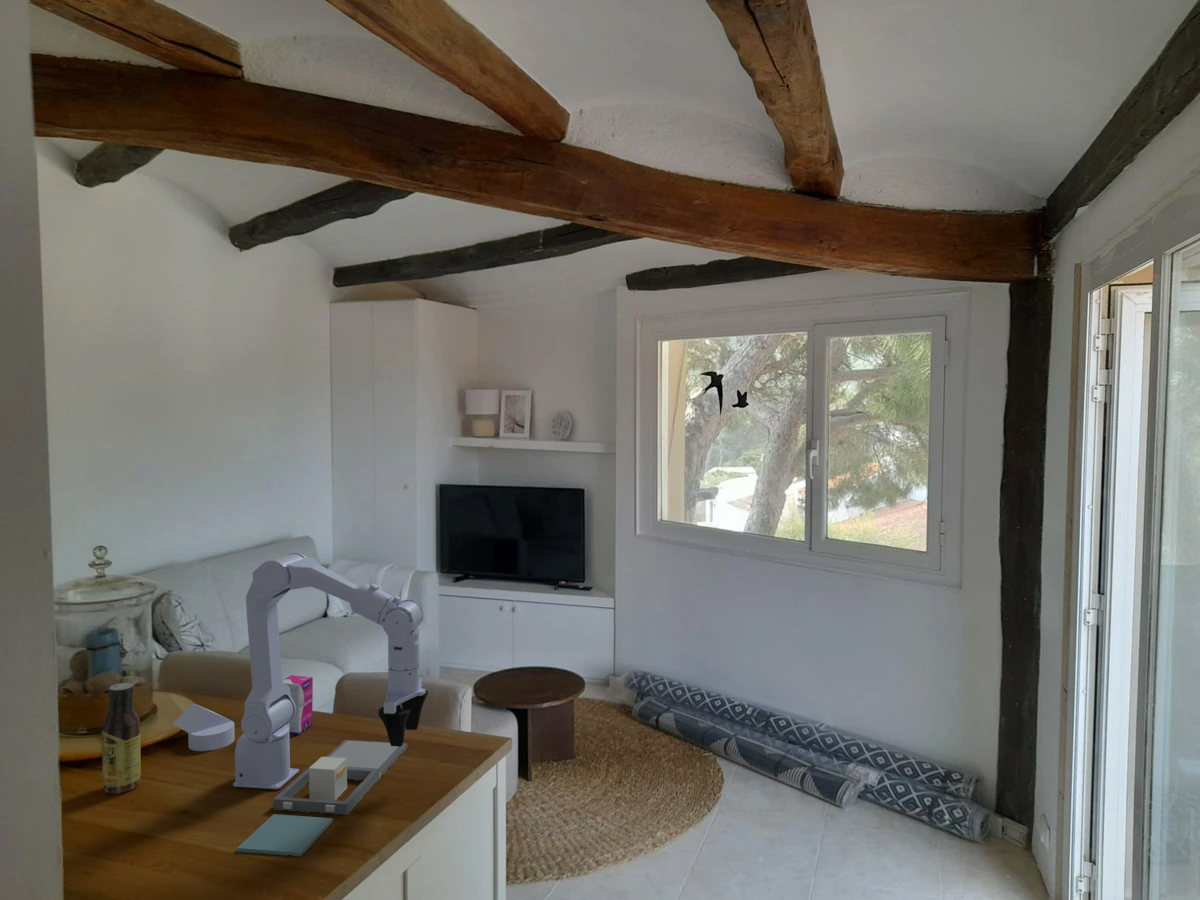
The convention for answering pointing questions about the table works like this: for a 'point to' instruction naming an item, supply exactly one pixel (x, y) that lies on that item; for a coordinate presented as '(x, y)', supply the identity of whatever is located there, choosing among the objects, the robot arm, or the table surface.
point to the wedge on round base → (205, 728)
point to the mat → (285, 835)
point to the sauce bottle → (121, 742)
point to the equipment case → (361, 765)
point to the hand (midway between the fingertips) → (404, 737)
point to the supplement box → (300, 702)
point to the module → (328, 778)
